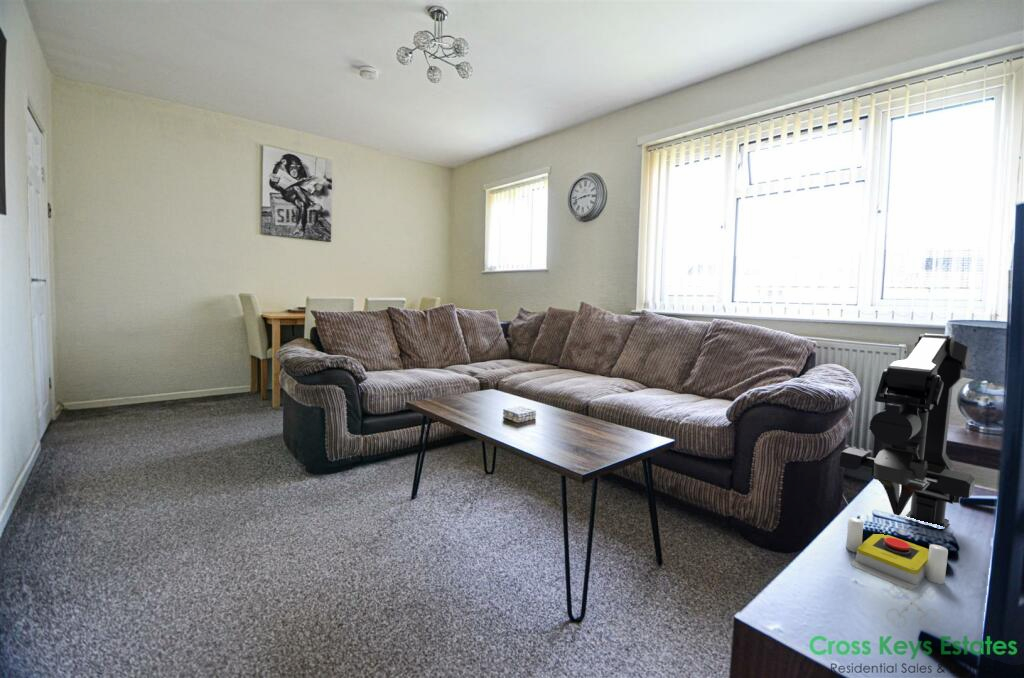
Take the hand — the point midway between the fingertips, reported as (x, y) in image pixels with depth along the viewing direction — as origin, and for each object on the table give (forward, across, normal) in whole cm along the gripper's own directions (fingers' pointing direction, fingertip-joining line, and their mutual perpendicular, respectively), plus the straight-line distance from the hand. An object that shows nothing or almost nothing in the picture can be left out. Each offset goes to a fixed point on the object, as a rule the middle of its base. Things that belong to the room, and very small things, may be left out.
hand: (897, 514), depth 85 cm
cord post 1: (+10, -6, 0) cm, 11 cm away
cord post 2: (+10, +6, 0) cm, 12 cm away
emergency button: (+10, 0, 0) cm, 11 cm away
